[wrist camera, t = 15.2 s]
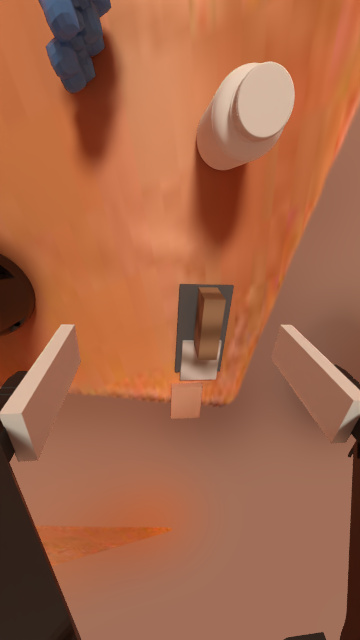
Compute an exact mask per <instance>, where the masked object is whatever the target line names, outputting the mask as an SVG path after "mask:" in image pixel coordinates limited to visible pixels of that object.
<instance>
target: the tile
mask: <svg viewBox="0 0 360 640" xmlns="http://www.w3.org/2000/svg"><path fill="white" fill-rule="evenodd" d="M202 388H203V386H202V383H175V384H171V409H170V416H171V419H180V418H199V414H200V406H201V397H202Z"/></svg>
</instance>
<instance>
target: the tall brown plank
mask: <svg viewBox="0 0 360 640" xmlns="http://www.w3.org/2000/svg"><path fill="white" fill-rule="evenodd" d="M225 303H226V300H225V298H224V297H223V295H222V294H221V292H220V291H219V289H218V288H217V287H199V288H198V298H197V309H196V320H195V330H194V340H183V342H182V357H181V371H180V380H210V379H216V374H217V368H218V361H219V355H220V349H221V343H222V341H221V340H220V335H221V329H222V322H223V316H224V309H225Z"/></svg>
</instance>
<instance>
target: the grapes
mask: <svg viewBox="0 0 360 640" xmlns="http://www.w3.org/2000/svg"><path fill="white" fill-rule="evenodd" d="M39 3H40V5H41V7H42V9H43V11H44V14H45V17H46V20H47V23H48V25H49V27H50V29H51V31H52V33H53V35H54V36H55V38H54V39H52V40H51V41H50V42H49V43H48V45H47V46H46V49H47V53H48V56H49V59H50V62H51V65H52V67H53V69H54V70H55V72H56V74H57V76H59V77H60V79H61V81H62V83H63V85H64V87H65V89H66V90H67V91H68V92H70V93H77V92H79V91H80V90H82V89H83V88H84V87H85V86H86V83H88V82H89V81H91V80H92V79H93V78H94V77H95V76H96V74H95V70H94V66H93V62H92V59H91V57H90V56H95V55H97V54H98V53H100V52H101V51H102V50H103V49H104V48H105V45H104V41H103V36H102V35H103V32H102V27H101V22H100V17H101V16H103V15H104V14H105V13H107V12H108V10H109V9H110V8H111V3H110V0H39Z"/></svg>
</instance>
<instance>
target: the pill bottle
mask: <svg viewBox="0 0 360 640" xmlns="http://www.w3.org/2000/svg"><path fill="white" fill-rule="evenodd" d="M294 95H295V93H294V85H293V81H292V79H291V76H290V74H289V73H288V71H287V70H286V69H285V68H284V67H283V66H282V65H280V64H277V63H274V62H266V63H265V62H263V63H249V64H245V65H242V66H240V67H238V68H236V69H235V70H233V71H232V72H231V73H230V74H229V75H228V76H227V77H226V78H225V79H224V81H223V82H222V83H221V85H220V86H219V88H218V90H217V92H216V93H215V95H214V97H213V98H212V100H211V102H210V104H209V105H208V107H207V109H206V110H205V112H204V114H203V116H202V117H201V120H200V122H199V125H198V129H197V147H198V151H199V153H200V156H201V157H202V159H203V160H204V162H205V163H206V164H207V165H209V166H210V167H212V168H214V169H217V170H229V169H232V168H234V167H237V166H240V165H243V164H245V163H248V162H251V161H254V160H256V159H258V158H260V157H262V156H263V155H265V154H266V153H267V152H268V151H270V150H271V148H272V147H273V146H274V145H275V143H276V142H277V140H278V139H279V137H280V135H281V133H282V131H283V129H284V126H285V124H286V123H287V121H288V120H289V118H290V116H291V113H292V110H293V106H294V98H295V96H294Z"/></svg>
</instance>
